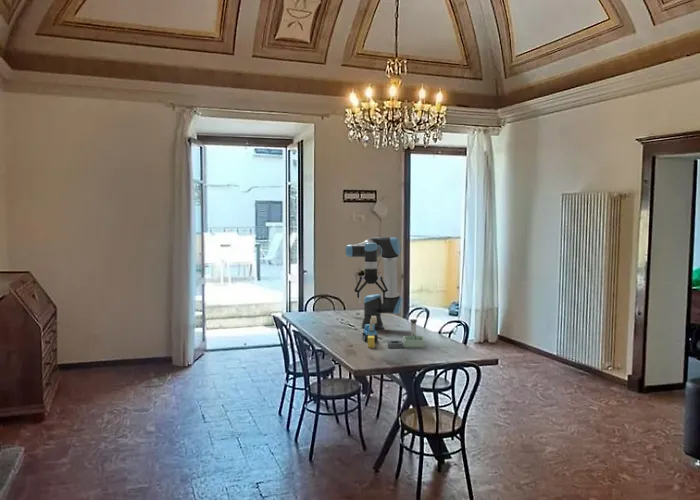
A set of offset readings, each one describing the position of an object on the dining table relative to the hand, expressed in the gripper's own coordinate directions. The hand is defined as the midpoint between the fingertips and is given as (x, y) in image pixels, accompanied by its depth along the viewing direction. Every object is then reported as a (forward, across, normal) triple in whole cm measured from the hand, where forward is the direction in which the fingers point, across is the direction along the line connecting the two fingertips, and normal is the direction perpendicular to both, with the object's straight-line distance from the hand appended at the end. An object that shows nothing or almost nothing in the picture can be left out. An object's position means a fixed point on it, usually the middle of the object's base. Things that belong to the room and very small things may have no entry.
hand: (371, 303), depth 360 cm
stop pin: (+26, +26, +2) cm, 37 cm away
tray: (+26, +26, +2) cm, 37 cm away
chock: (+26, 0, 0) cm, 27 cm away
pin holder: (+26, +14, 0) cm, 30 cm away
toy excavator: (+27, 0, +15) cm, 31 cm away
